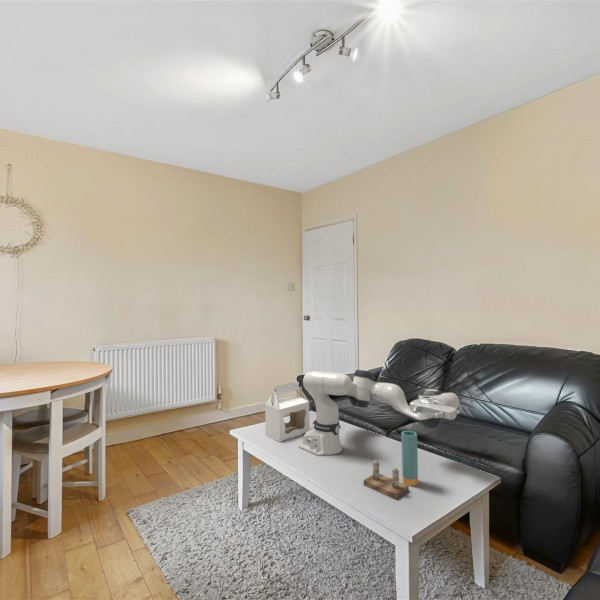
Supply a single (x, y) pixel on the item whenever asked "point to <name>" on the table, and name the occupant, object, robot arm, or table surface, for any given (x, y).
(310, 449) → the robot arm
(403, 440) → the sleeve
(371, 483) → the pin board
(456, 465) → the table surface
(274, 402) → the gable box
